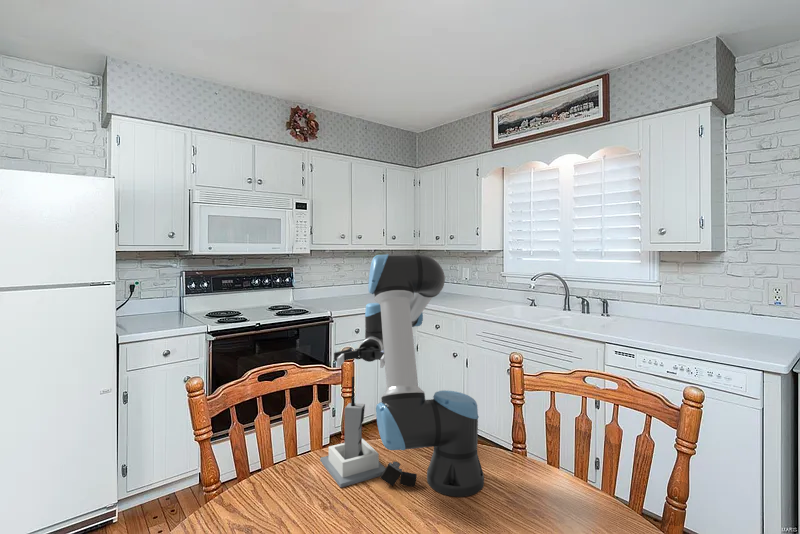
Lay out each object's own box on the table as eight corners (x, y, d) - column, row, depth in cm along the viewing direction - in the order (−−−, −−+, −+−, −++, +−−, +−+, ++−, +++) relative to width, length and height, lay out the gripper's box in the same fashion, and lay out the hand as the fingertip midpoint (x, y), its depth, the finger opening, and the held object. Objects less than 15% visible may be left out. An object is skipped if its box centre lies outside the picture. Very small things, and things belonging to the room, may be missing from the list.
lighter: (408, 491, 109) (419, 474, 109) (408, 496, 107) (420, 478, 107) (380, 473, 109) (392, 456, 109) (380, 478, 107) (392, 460, 107)
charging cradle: (388, 473, 113) (388, 454, 113) (340, 487, 106) (340, 467, 106) (363, 450, 127) (363, 433, 127) (320, 461, 120) (320, 443, 120)
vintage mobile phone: (361, 467, 114) (361, 378, 114) (344, 466, 115) (344, 378, 115) (364, 461, 118) (365, 375, 117) (348, 459, 119) (348, 374, 118)
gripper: (405, 360, 146) (400, 376, 125) (336, 358, 148) (320, 374, 127) (405, 339, 146) (400, 351, 125) (336, 338, 148) (320, 350, 127)
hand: (359, 362), depth 126 cm, fingers open, 13 cm apart
